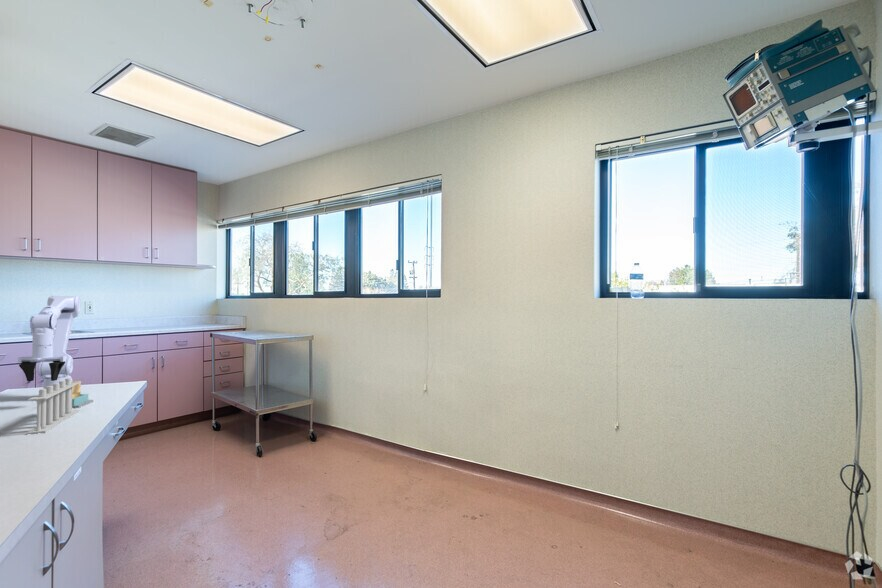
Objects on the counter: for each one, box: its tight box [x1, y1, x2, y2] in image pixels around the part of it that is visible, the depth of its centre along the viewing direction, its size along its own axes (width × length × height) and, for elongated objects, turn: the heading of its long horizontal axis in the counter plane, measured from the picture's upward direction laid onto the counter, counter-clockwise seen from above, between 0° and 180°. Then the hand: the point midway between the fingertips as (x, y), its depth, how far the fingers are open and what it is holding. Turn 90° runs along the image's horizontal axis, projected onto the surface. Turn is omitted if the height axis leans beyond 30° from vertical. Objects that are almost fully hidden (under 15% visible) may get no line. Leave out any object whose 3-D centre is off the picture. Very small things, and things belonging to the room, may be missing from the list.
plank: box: [71, 380, 82, 399], centre depth 158 cm, size 5×2×8 cm, turn 13°
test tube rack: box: [26, 377, 80, 435], centre depth 137 cm, size 25×4×13 cm, turn 23°
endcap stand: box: [72, 393, 94, 409], centre depth 158 cm, size 9×9×3 cm
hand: (42, 380), depth 155 cm, fingers open, 7 cm apart
